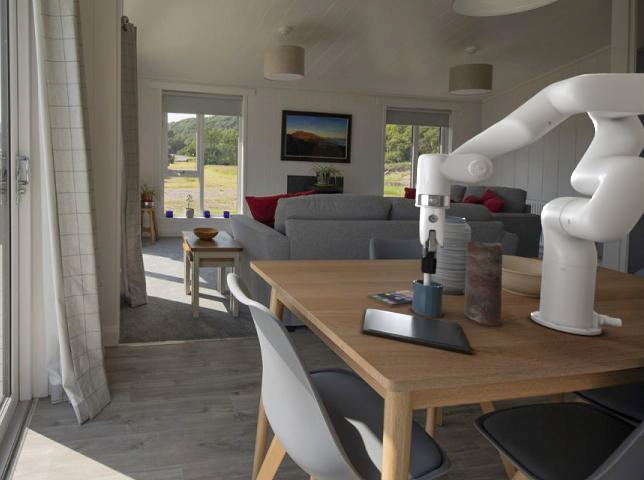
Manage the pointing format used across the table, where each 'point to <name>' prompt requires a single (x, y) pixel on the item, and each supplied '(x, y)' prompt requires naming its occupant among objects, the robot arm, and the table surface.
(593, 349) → the table surface
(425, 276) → the stylus
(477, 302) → the candle
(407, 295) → the smartphone
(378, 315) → the tablet
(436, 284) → the pen cup
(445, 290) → the vase
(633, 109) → the robot arm
